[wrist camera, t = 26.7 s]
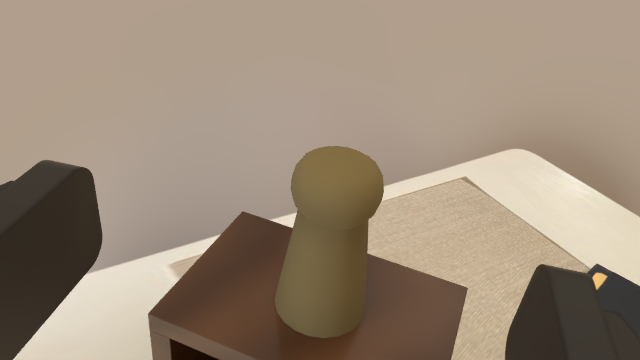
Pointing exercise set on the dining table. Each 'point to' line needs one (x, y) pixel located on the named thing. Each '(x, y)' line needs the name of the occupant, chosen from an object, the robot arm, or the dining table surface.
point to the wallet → (618, 295)
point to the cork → (329, 242)
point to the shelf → (268, 327)
